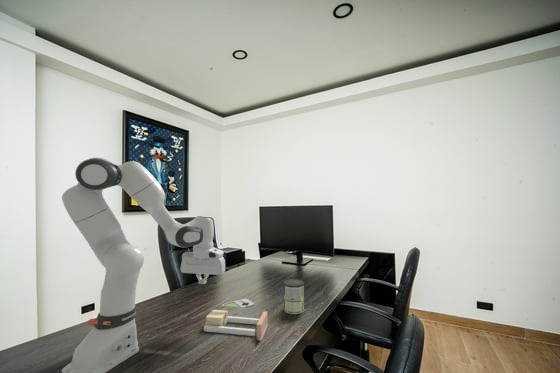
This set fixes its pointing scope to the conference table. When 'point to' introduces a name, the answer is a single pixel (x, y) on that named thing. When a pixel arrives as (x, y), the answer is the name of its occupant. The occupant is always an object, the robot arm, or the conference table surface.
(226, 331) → the rail
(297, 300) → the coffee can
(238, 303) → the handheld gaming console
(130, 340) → the robot arm
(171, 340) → the conference table surface
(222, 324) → the block
